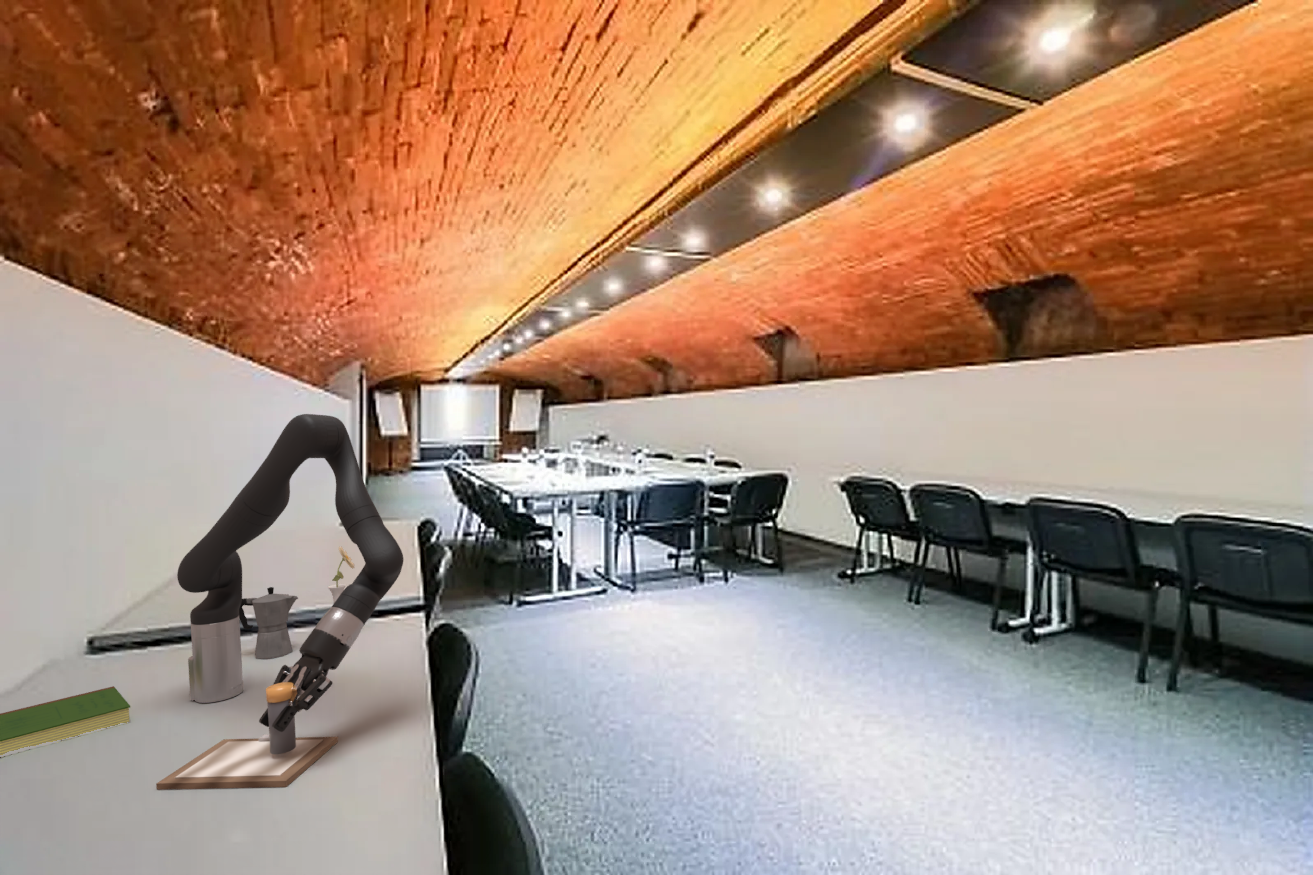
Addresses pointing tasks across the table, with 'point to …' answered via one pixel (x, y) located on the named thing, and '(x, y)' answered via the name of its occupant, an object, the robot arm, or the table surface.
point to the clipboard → (247, 764)
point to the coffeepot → (270, 623)
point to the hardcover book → (62, 719)
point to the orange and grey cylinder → (276, 703)
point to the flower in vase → (340, 576)
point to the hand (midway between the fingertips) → (270, 726)
